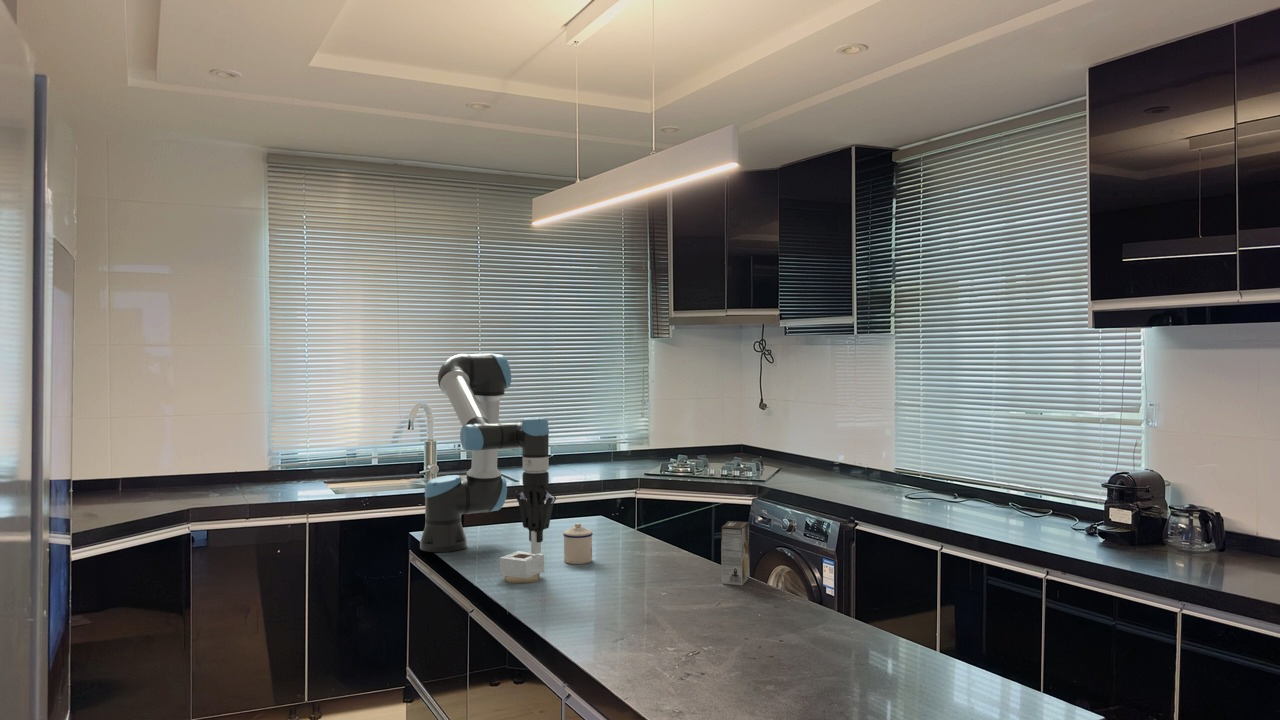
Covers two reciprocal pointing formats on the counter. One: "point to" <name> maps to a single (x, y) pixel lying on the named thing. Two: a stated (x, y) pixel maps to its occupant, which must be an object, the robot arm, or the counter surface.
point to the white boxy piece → (521, 565)
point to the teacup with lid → (577, 545)
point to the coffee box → (735, 552)
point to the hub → (520, 580)
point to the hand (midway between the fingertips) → (536, 553)
